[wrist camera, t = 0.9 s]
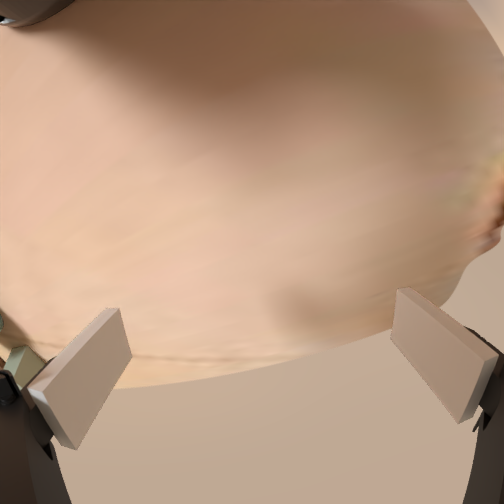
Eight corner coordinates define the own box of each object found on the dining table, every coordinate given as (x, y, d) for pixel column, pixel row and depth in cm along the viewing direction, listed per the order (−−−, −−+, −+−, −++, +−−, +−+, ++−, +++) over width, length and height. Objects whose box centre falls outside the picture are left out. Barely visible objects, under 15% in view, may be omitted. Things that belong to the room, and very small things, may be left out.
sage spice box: (12, 348, 33) (-2, 379, 27) (27, 345, 33) (12, 379, 27) (34, 370, 36) (23, 401, 30) (50, 368, 36) (39, 402, 30)
